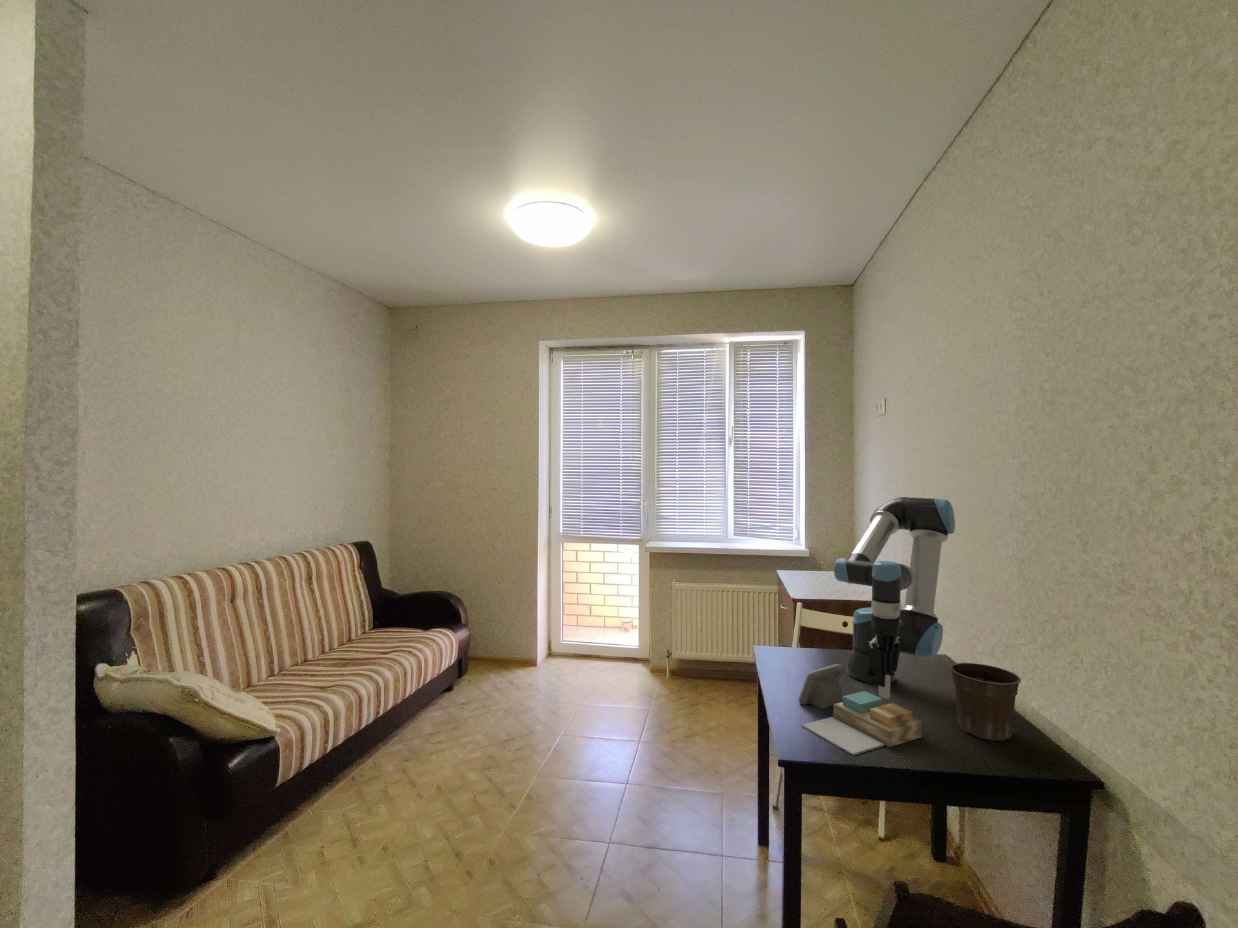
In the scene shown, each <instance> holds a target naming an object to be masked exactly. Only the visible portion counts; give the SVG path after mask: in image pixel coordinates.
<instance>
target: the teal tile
mask: <svg viewBox="0 0 1238 928" xmlns="http://www.w3.org/2000/svg"><path fill="white" fill-rule="evenodd" d="M842 702H843V706H846V707H848V708H850V709H852V710H854V711H856V712H858V713H860V714H861V713H865V712H868V711H870V709H871V708H875V707H879V706H883V705H884V703H883V702H884V698H883V697H880V696H878V695H874V694H873V693H870V692H868V691H865V690H864V691H860V692H856V693H851V694H847V695H842Z"/></svg>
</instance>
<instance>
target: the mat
mask: <svg viewBox="0 0 1238 928" xmlns="http://www.w3.org/2000/svg"><path fill="white" fill-rule="evenodd" d="M801 727H802V728H804V729H805V730H807V731H808V732H811V733H813V734H814V735H816V736H818V737H820V738H822V739H823V740H825V741H827V742H829V743H830V744H832V745H833V746H835V747H838V748H839V749H841V750H842V749H843V750H842V751H844V750H845V751H844V752H846V753H847V754H850V755H851V754H852V756H856V755H860V754H862V753H866V752H868V751H871V750H875V749H879V748H882V747H885V745H884V743H882V742H880V741H878V740H876V739H874V738H872V737H870V736H868V735H866V734H864V733H862V732H860V731H858V730H856V729H854V728H852V727H850V726H849V725H847V724H845V723H843V722H841V721H839V720H837V719H835V718H833V717H832V716H830V717H827V718H822V719H819V720H814V721H811V722H807V723H804V724H801Z"/></svg>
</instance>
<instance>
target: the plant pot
mask: <svg viewBox="0 0 1238 928" xmlns="http://www.w3.org/2000/svg"><path fill="white" fill-rule="evenodd" d="M949 669H950V671H951V673H952V681H953V684H954V691H955V701H956V709H957V721H958V722H957V725H958V728H959V729H960V730H961V731H963V732H964V733H965V734H971V735H973V736H974V737H976V738H979V739H982V740H986V741H990V742H991V741H992V742H1004V741H1006V740H1010V739H1011V738H1012V734H1013V733H1012V732H1013V731H1012V730H1013V723H1014V712H1015V704H1016V696H1017V695H1018V690H1019V685H1020V683H1021V681H1022V678H1021V677H1020V676H1019V675H1017V674H1016V673H1014V672H1012V671H1010V670H1006V669H1004V668H1002V667H997V666H993V665H989V664H988V665H987V664H983V663H974V662H959V663H958V662H957V663H953V664H951V665H950V668H949Z"/></svg>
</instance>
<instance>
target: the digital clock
mask: <svg viewBox="0 0 1238 928" xmlns="http://www.w3.org/2000/svg"><path fill="white" fill-rule="evenodd" d="M843 673H844V666H843V665H842V664H841V663H835V664H831V665H828V666H824V667H822V668H818V669H815V670H812V671H809V672H808V673H807V675H806V677H805V679H804V683H803V685H802V688H801V690H800V693H799V695H798V702H799V704H801V705H808V704H810V705H813V706H815V707H818V708H820V709H823V710H824V709H828V708H830V707H833V704H837V703H841V702H843V695H842V694H843V692H842V691H843V690H842V687H841V686H840V685H839V683H840V680H841V677H842V676H843Z"/></svg>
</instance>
